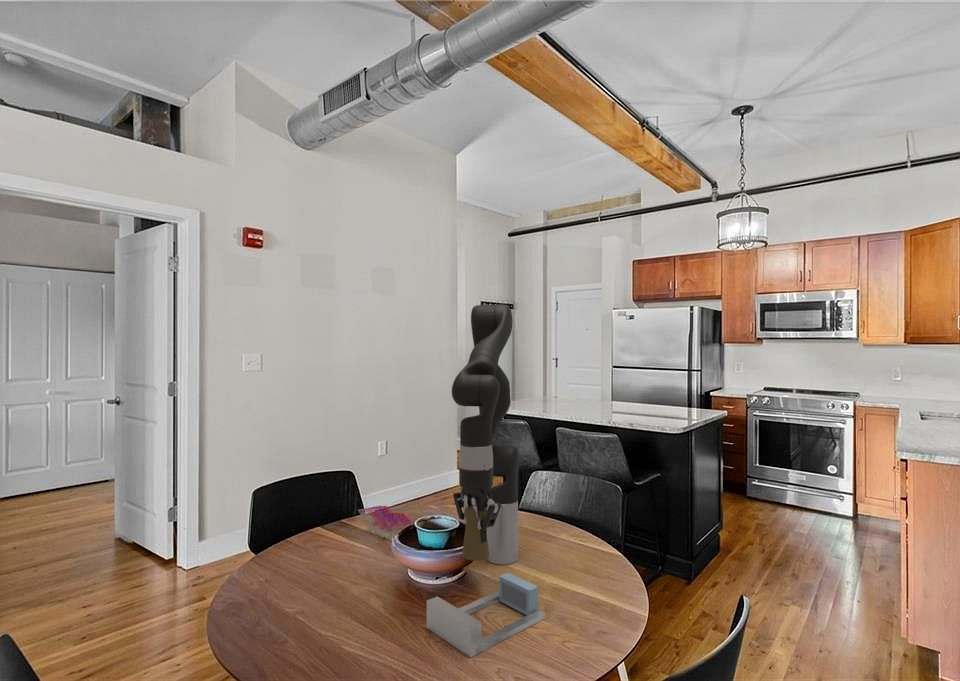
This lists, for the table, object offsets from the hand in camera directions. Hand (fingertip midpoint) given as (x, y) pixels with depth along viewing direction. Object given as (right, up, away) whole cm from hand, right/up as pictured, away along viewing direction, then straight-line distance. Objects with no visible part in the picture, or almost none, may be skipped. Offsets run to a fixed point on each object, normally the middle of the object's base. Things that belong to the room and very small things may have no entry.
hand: (476, 542), depth 116 cm
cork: (0, -3, 0) cm, 3 cm away
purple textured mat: (-32, -20, +67) cm, 76 cm away
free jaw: (+10, -19, +9) cm, 23 cm away
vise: (+2, -19, +2) cm, 19 cm away
